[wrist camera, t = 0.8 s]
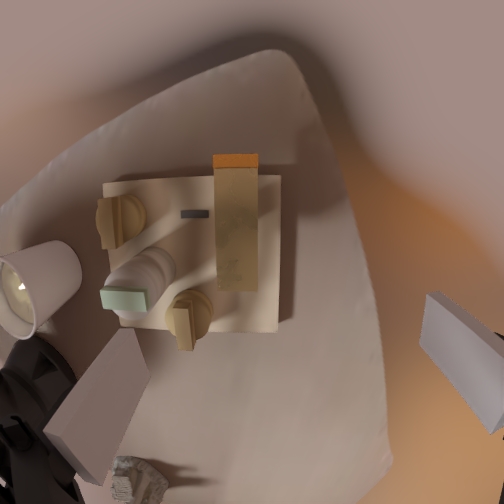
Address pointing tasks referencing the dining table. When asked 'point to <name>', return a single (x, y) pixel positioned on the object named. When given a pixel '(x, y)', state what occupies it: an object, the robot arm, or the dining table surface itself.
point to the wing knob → (236, 221)
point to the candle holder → (36, 285)
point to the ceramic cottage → (137, 481)
